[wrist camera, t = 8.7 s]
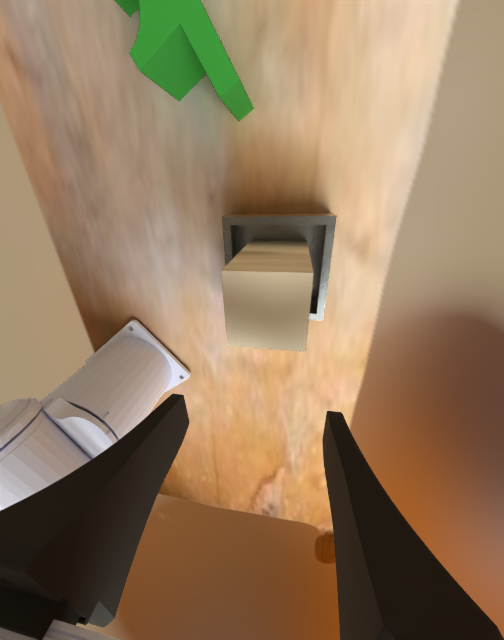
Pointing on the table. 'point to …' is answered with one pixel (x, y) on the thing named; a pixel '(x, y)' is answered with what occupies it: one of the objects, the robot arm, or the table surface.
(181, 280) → the table surface
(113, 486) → the robot arm
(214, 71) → the pipe clamp
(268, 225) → the dark gray open tray
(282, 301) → the rail post
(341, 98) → the table surface
